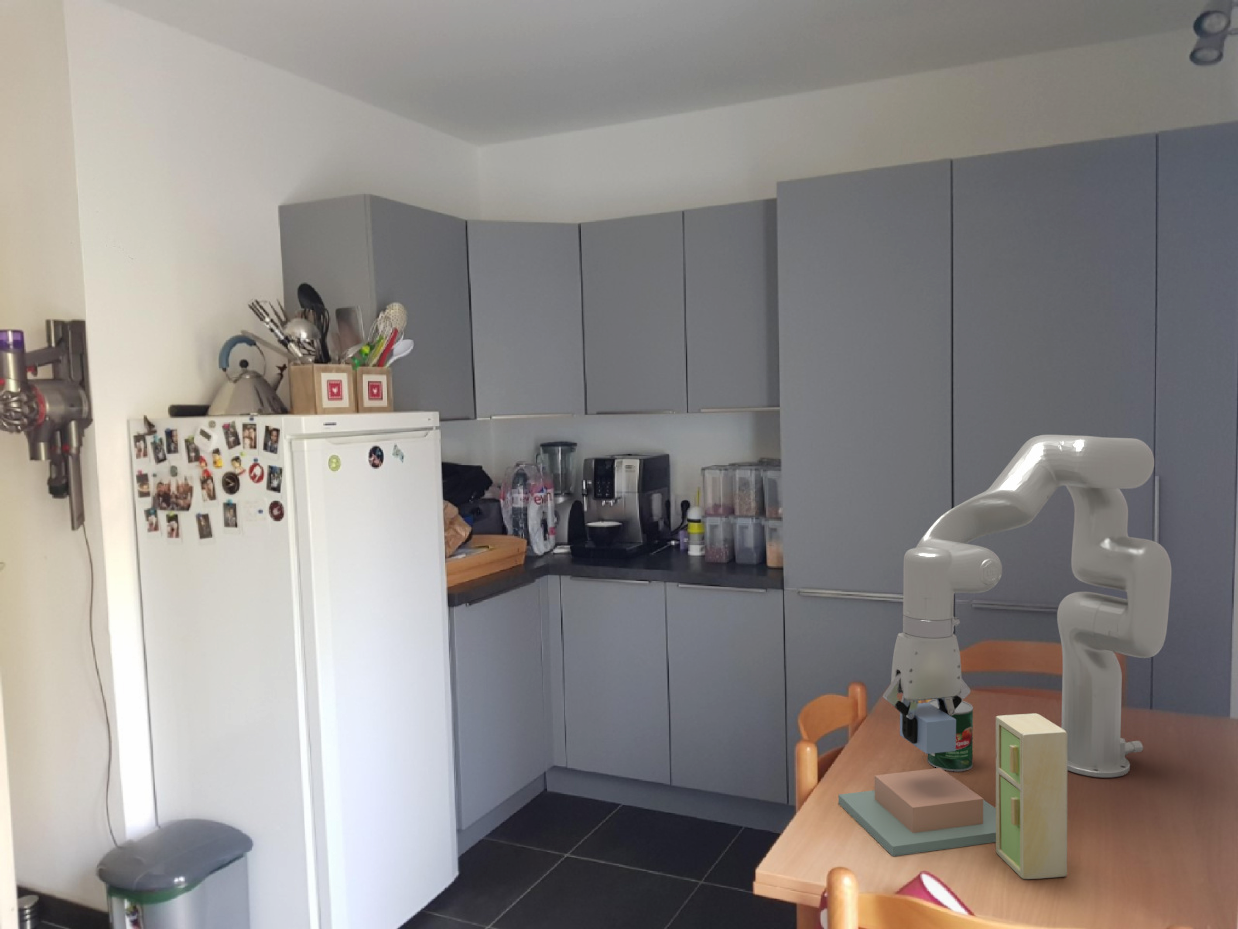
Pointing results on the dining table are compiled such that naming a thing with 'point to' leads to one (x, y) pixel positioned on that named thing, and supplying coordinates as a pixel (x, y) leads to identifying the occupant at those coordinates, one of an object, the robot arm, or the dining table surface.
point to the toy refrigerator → (1031, 795)
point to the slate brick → (933, 729)
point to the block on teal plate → (922, 812)
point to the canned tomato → (957, 742)
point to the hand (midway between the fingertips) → (926, 737)
